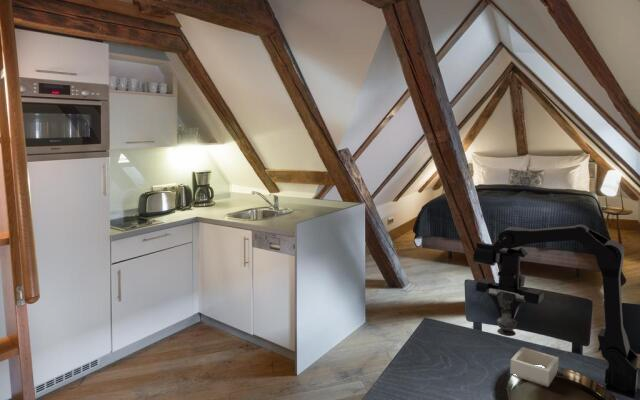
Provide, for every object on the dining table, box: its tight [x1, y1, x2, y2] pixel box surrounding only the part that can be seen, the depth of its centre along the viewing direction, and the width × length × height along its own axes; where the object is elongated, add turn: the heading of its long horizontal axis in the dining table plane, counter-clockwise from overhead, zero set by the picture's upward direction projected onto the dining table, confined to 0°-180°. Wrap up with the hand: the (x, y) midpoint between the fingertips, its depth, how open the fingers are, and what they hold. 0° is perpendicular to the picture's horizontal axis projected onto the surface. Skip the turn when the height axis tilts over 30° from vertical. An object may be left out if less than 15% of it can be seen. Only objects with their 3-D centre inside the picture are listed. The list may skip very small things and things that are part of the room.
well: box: [509, 346, 560, 388], centre depth 124 cm, size 10×10×4 cm
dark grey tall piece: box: [496, 295, 518, 337], centre depth 133 cm, size 6×6×12 cm
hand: (507, 316), depth 133 cm, fingers closed on dark grey tall piece, 3 cm apart
